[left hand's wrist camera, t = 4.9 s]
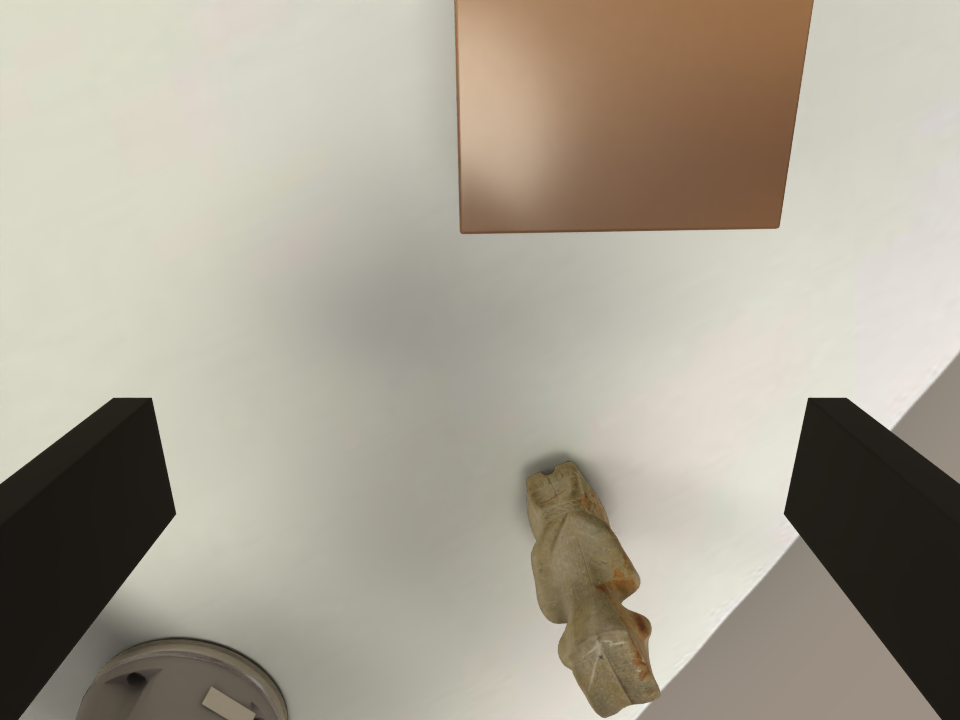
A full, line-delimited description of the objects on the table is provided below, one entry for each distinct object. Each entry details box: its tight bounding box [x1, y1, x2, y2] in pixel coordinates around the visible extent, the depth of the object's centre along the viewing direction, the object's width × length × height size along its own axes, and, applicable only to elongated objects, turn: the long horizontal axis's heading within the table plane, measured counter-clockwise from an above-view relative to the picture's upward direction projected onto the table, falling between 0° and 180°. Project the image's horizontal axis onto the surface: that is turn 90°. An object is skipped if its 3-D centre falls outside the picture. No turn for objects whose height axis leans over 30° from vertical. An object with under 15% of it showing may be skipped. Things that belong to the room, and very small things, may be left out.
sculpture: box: [526, 462, 661, 718], centre depth 36 cm, size 6×7×15 cm
